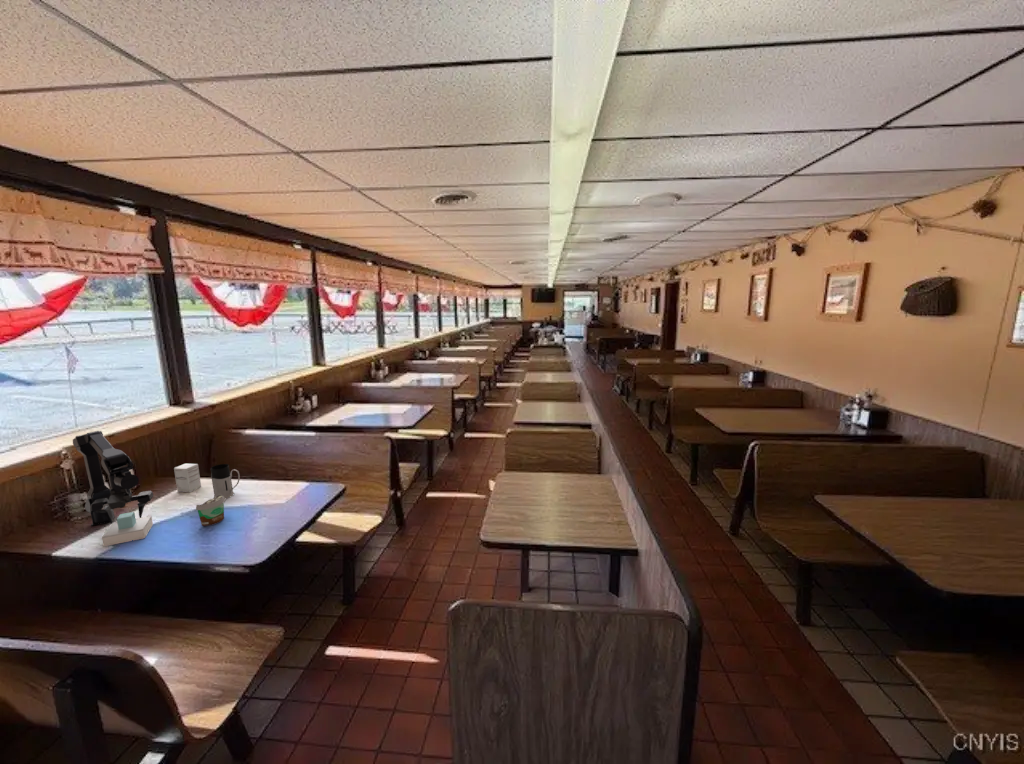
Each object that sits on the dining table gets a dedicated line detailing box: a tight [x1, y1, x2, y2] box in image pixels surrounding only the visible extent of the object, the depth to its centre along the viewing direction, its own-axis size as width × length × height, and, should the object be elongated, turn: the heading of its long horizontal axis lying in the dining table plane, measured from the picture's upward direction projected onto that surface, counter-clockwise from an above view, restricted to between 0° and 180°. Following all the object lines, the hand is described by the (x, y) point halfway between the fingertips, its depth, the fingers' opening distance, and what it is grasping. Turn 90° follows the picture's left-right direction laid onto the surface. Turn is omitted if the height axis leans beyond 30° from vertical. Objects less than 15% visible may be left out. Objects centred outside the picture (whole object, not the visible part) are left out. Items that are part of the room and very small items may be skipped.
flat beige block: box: [101, 515, 154, 547], centre depth 187 cm, size 13×13×4 cm
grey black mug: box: [210, 463, 241, 499], centre depth 221 cm, size 9×14×15 cm, turn 82°
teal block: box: [116, 511, 137, 530], centre depth 186 cm, size 5×5×5 cm
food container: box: [195, 494, 226, 527], centre depth 196 cm, size 12×6×10 cm, turn 168°
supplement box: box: [173, 463, 202, 493], centre depth 231 cm, size 7×7×13 cm
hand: (126, 520), depth 186 cm, fingers open, 9 cm apart
